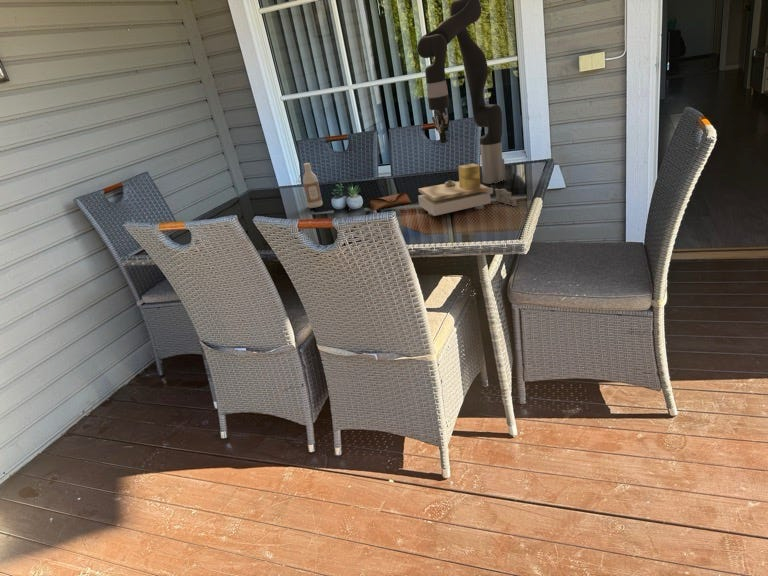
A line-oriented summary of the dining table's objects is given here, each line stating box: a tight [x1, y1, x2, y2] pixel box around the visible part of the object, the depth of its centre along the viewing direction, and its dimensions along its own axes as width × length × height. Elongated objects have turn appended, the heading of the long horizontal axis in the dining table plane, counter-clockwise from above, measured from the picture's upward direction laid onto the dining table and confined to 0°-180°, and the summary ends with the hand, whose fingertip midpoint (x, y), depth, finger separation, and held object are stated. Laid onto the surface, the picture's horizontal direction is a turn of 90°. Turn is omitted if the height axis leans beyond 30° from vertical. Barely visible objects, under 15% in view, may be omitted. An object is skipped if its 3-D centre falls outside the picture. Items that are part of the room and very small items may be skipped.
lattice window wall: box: [494, 188, 517, 207], centre depth 197 cm, size 12×2×6 cm, turn 23°
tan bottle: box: [302, 162, 323, 209], centre depth 238 cm, size 7×7×20 cm
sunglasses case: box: [368, 191, 413, 212], centre depth 223 cm, size 18×7×7 cm
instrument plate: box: [418, 163, 490, 201], centre depth 198 cm, size 23×18×10 cm
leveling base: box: [417, 187, 494, 217], centre depth 201 cm, size 24×21×8 cm
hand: (443, 142), depth 196 cm, fingers closed
